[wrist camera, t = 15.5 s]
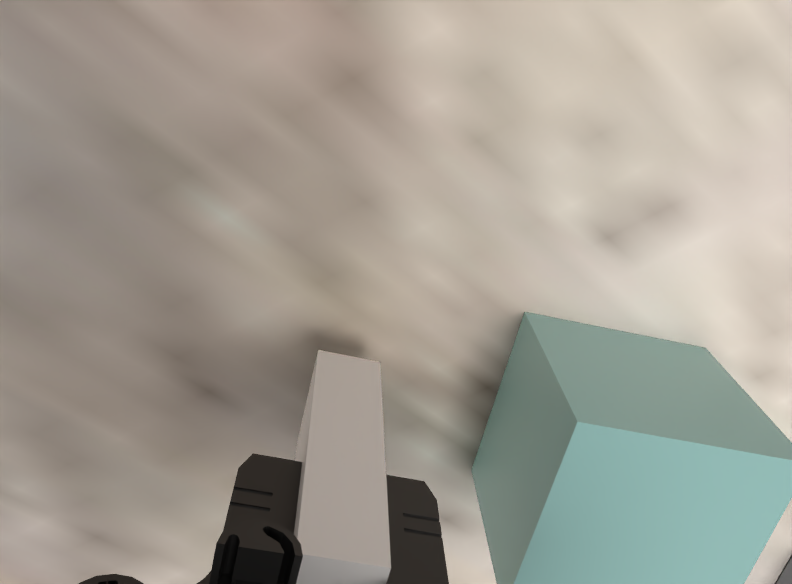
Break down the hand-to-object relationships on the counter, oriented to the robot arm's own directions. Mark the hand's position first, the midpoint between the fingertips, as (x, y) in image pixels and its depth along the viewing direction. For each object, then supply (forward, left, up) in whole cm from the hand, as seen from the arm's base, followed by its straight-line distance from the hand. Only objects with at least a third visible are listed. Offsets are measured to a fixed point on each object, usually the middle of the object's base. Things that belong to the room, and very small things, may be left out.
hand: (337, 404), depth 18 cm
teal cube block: (+7, 0, -2) cm, 7 cm away
